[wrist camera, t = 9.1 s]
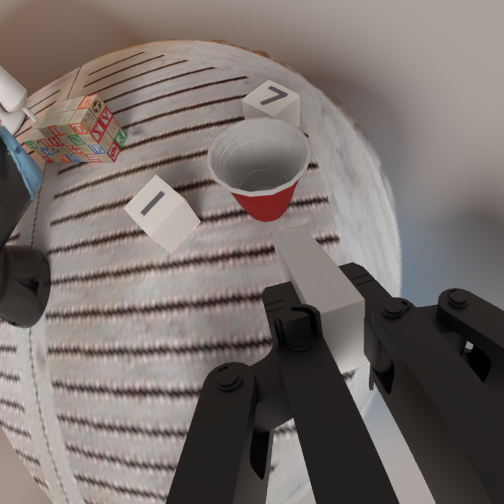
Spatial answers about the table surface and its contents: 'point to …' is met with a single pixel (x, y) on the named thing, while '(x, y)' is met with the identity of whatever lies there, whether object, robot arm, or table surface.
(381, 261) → the table surface
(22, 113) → the flower in vase
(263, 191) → the plastic cup
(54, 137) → the stack of blocks
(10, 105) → the champagne flute
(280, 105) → the marked block 7
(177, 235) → the marked block 1
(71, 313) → the table surface
